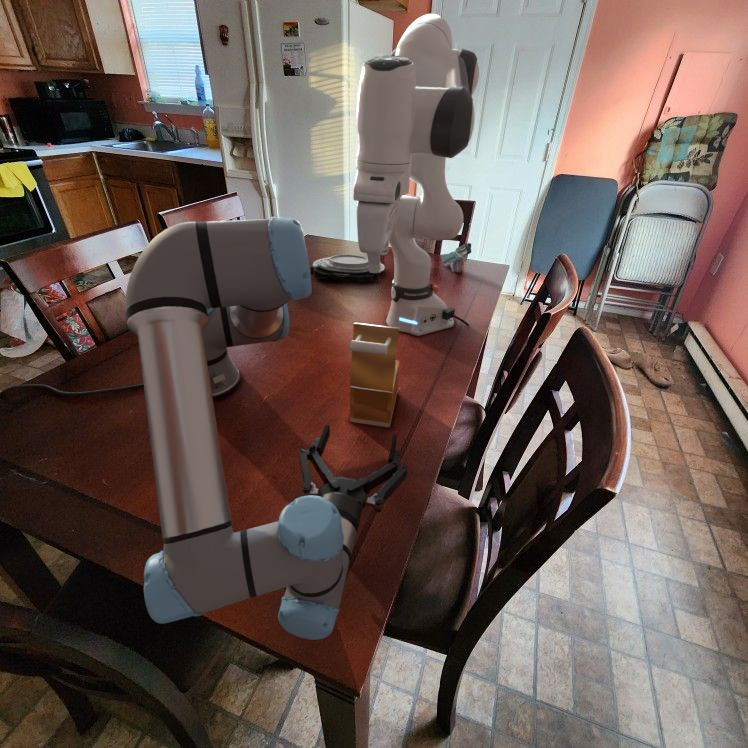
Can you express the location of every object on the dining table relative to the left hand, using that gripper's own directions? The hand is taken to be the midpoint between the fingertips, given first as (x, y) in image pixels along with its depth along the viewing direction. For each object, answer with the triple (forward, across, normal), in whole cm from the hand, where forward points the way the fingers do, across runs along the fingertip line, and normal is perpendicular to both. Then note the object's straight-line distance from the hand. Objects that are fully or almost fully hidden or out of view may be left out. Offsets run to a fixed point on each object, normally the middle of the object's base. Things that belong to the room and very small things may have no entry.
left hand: (361, 434), depth 82 cm
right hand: (+13, 0, +31) cm, 33 cm away
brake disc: (+102, -26, -7) cm, 106 cm away
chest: (+17, 0, -7) cm, 19 cm away
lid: (+13, 0, +10) cm, 17 cm away
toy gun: (+116, +17, -7) cm, 117 cm away
